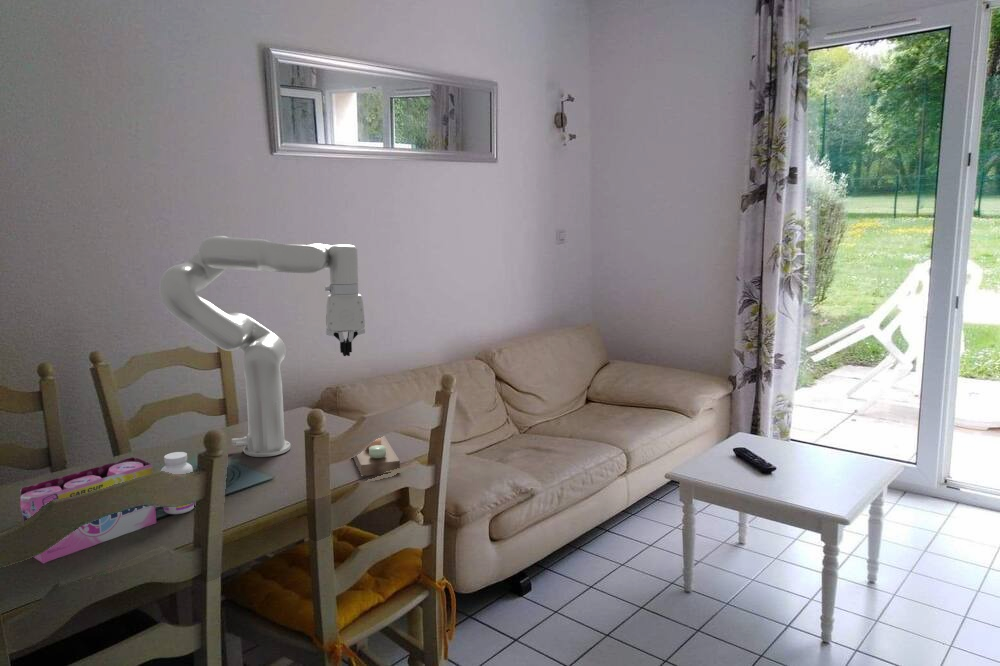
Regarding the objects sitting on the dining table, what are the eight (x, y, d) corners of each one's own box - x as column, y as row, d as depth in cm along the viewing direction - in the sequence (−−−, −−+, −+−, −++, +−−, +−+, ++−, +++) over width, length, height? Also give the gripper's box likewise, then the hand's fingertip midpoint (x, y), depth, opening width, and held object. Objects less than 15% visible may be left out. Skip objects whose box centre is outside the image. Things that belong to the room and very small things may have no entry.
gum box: (35, 567, 133) (27, 500, 130) (17, 555, 137) (9, 490, 135) (157, 523, 152) (153, 463, 150) (138, 513, 157) (133, 455, 154)
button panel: (361, 476, 179) (361, 465, 179) (349, 448, 200) (348, 438, 199) (399, 471, 183) (399, 460, 182) (384, 445, 203) (383, 435, 203)
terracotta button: (366, 450, 188) (366, 443, 188) (363, 445, 192) (363, 438, 192) (382, 448, 189) (382, 441, 189) (379, 443, 193) (379, 436, 193)
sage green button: (370, 458, 181) (370, 451, 181) (367, 453, 185) (367, 446, 185) (387, 457, 183) (387, 449, 183) (384, 451, 187) (384, 444, 187)
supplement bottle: (201, 504, 162) (197, 450, 160) (185, 516, 155) (181, 461, 153) (173, 502, 162) (169, 449, 160) (157, 514, 156) (152, 459, 154)
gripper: (317, 292, 187) (320, 359, 190) (373, 290, 192) (375, 356, 195) (315, 289, 194) (317, 354, 197) (369, 287, 199) (370, 351, 202)
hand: (346, 355), depth 196 cm, fingers closed
